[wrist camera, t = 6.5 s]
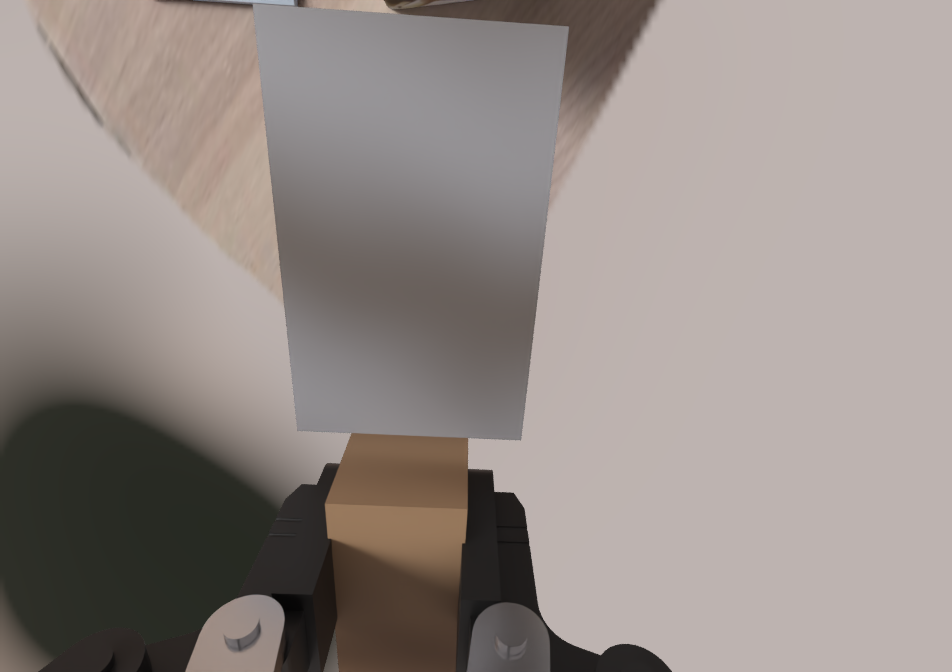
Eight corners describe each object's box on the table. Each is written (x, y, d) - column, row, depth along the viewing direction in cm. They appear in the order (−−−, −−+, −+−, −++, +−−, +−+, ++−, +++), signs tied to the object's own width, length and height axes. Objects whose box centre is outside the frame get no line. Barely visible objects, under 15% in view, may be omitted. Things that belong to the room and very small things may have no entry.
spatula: (271, 14, 8) (174, -40, 6) (560, 34, 9) (604, -8, 6) (329, 635, 15) (296, 753, 12) (493, 640, 15) (498, 757, 12)
